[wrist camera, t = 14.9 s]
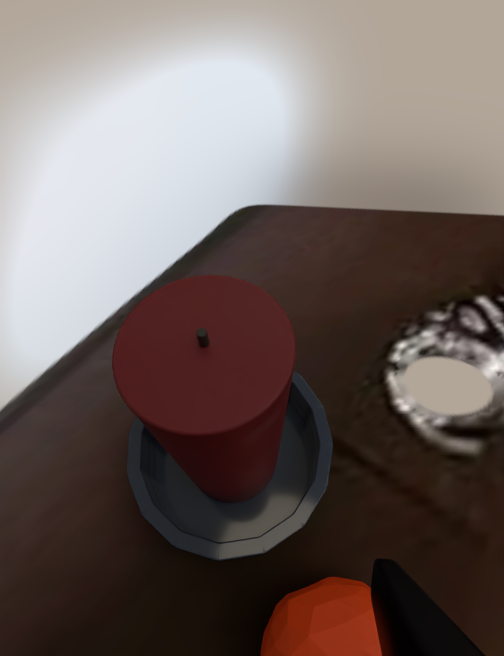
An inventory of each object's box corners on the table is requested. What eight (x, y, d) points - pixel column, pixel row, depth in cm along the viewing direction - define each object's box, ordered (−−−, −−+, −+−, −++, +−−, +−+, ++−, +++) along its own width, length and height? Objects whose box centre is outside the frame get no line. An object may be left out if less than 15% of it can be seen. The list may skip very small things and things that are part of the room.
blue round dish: (358, 488, 20) (375, 477, 17) (191, 605, 18) (177, 614, 15) (263, 350, 25) (263, 322, 23) (121, 423, 23) (100, 403, 20)
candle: (294, 446, 21) (335, 317, 10) (239, 525, 19) (209, 476, 8) (227, 396, 23) (196, 236, 12) (170, 462, 21) (61, 347, 9)
